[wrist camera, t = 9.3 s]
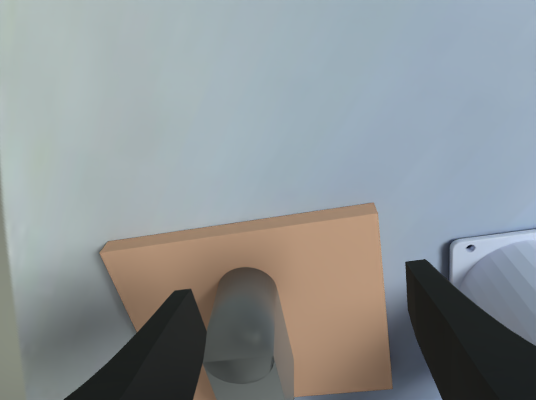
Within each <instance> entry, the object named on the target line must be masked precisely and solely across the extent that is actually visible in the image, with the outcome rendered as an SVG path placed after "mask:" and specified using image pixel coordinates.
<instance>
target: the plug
mask: <svg viewBox="0 0 536 400" xmlns="http://www.w3.org/2000/svg"><path fill="white" fill-rule="evenodd" d="M203 366H204V368H205V371H206V374H207V376H208V379H209V381H210V384H211V387H212V389H213V392H214V394H215V397H216V399H217V400H294V358H293V354H292V349H291V345H290V341H289V337H288V332H287V328H286V324H285V320H284V315H283V311H282V307H281V303H280V298H279V294H278V290H277V286H276V284H275V282H274V280H273V279H272V278H271V277H270V276H269V275H268V274H267V273H265V272H263V271H261V270H259V269H256V268H251V267H240V268H236V269H233V270H231V271H229V272H227V273H226V274H225V275H224V276H223V277H222V278H221V280H220V282H219V285H218V289H217V292H216V296H215V300H214V304H213V308H212V312H211V316H210V320H209V324H208V328H207V336H206V345H205V352H204V359H203Z"/></svg>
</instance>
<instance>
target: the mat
mask: <svg viewBox="0 0 536 400" xmlns="http://www.w3.org/2000/svg"><path fill="white" fill-rule="evenodd" d="M100 255H101V257H102V259H103V262H104V264H105V266H106V268H107V270H108V272H109V274H110V276H111V279H112V281H113V283H114V285H115V287H116V289H117V291H118V293H119V295H120V298H121V300H122V302H123V304H124V306H125V308H126V310H127V312H128V315H129V317H130V319H131V321H132V323H133V325H134V327H135V329H136V331H137V332H138V331H139V330H140V329H141V328H142V327H143V325H144V324H145V323H146V322H147V321H148V320H149V319H150V318H151V316H152V315H153V314H154V313H155V312H156V311H157V310H158V308H159V307H160V306H161V305H162V304H163V303H164V302H165V300H166V299H167V298H168V297H169V296H170V295H171V294H172V293H173V292H174V291H175V290H183V289H192V292H193V295H194V298H195V300H196V303H197V306H198V309H199V311H200V314H201V317H202V320H203V322H204V325H205V328H206V331H207V328H208V324H209V320H210V316H211V312H212V308H213V304H214V300H215V296H216V292H217V289H218V285H219V282H220V280H221V278H222V277H223V276H224V275H225V274H226V273H227V272H229V271H231V270H233V269H236V268H240V267H251V268H256V269H259V270H261V271H263V272H265V273H267V274H268V275H269V276H270V277H271V278H272V279H273V280H274V282H275V284H276V286H277V290H278V294H279V298H280V303H281V307H282V311H283V315H284V320H285V324H286V328H287V332H288V337H289V341H290V345H291V349H292V354H293V358H294V397H301V396H313V395H325V394H338V393H350V392H362V391H374V390H387V389H393V386H392V375H391V363H390V351H389V339H388V327H387V315H386V304H385V292H384V280H383V268H382V256H381V244H380V233H379V221H378V212H377V210H376V207H375V205H374V203H368V204H361V205H354V206H347V207H341V208H334V209H327V210H320V211H313V212H306V213H300V214H293V215H286V216H279V217H272V218H265V219H259V220H252V221H245V222H238V223H231V224H224V225H218V226H211V227H204V228H197V229H190V230H183V231H177V232H170V233H163V234H156V235H149V236H142V237H136V238H129V239H122V240H115V241H108V242H107V243H106V245H105V246H104V247H103V249H102V250H101V251H100ZM193 400H217V399H216V397H215V394H214V392H213V389H212V387H211V384H210V381H209V379H208V376H207V374H206V371H205V368H204V366H203V364H202V368H201V372H200V375H199V379H198V383H197V387H196V391H195V394H194V398H193Z"/></svg>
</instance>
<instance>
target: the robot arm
mask: <svg viewBox="0 0 536 400" xmlns="http://www.w3.org/2000/svg"><path fill="white" fill-rule="evenodd" d="M468 245H472V246H471V247H470V248H466V247H467V246H468ZM405 264H406V283H407V302H408V312H409V316H410V319H411V322H412V326H413V329H414V332H415V336H416V339H417V341H418V344H419V346H420V349H421V351H422V353H423V356H424V358H425V360H426V363H427V365H428V367H429V369H430V372H431V374H432V376H433V379H434V381H435V383H436V386H437V388H438V390H439V393H440V395H441V397H442V399H443V400H536V229H532V230H525V231H517V232H509V233H502V234H494V235H486V236H478V237H471V238H463V239H457V240H455V241H453V242H452V243H451V245H450V282H449V281H448V280H447V279H446V278H445V277H444V276H443V275H442V274H441V273H440V272H439V271H438V270H437V269H435V268H434V267H433V266H432V265H431V264H430V263H429V262H428V261H427V260H425V259H424V260H416V261H408V262H405ZM206 336H207V331H206V328H205V325H204V322H203V320H202V317H201V314H200V311H199V309H198V306H197V303H196V300H195V298H194V295H193V292H192V289H183V290H175V291H174V292H173V293H172V294H171V295H170V296H169V297H168V298H167V299H166V300H165V302H164V303H163V304H162V305H161V306H160V307H159V308H158V310H157V311H156V312H155V313H154V314H153V315H152V316H151V318H150V319H149V320H148V321H147V322H146V323H145V324H144V325H143V327H142V328H141V329H140V330H139V331H138V332H137V333H136V334H135V335H134V336H133V337H132V338H131V340H130V341H129V342H128V343H127V344H126V345H125V346H124V347H123V348H122V349H121V350H120V351H119V352H118V353H117V354H116V355H115V356H114V357H113V358H112V359H111V360H110V361H109V362H108V363H107V364H106V365H105V366H103V367H102V368H101V369H100V370H99V371H98V372H97V373H96V374H95V375H93V376H92V377H91V378H90V379H89V380H88V381H86V382H85V383H84V384H83V385H82V386H80V387H79V388H78V389H77V390H75V391H74V392H73V393H71V394H70V395H69V396H68V397H66V398H65V399H64V400H193V398H194V394H195V391H196V387H197V383H198V379H199V375H200V372H201V368H202V364H203V359H204V352H205V345H206Z"/></svg>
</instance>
